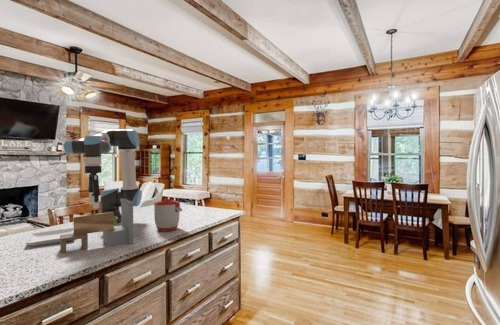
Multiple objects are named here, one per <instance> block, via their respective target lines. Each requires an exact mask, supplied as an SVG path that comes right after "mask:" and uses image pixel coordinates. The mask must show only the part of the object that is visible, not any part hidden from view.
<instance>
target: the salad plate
mask: <svg viewBox="0 0 500 325" xmlns="http://www.w3.org/2000/svg"><path fill="white" fill-rule="evenodd" d="M70 233H74V227H73V228H72V227H71V228H64V229H63V228H62V229H56V230H48V231H41V232H33V233H31V234H29V237H28V239H27V240H26V241H25V244H26V245H28V246H32V247H36V246H38V247H39V246H44V245H52V244H58V243H60V235H64V234H70Z"/></svg>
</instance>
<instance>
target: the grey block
mask: <svg viewBox="0 0 500 325" xmlns="http://www.w3.org/2000/svg"><path fill="white" fill-rule="evenodd" d="M120 202H121V208H120V210H121V211H120V213H121V222H120V223H121V225H116V226H114V230H111V231H110V230H108V231H102V237H103V238H102V240H103V242H104V243H105V246H106V247H111V246H118V245H122V244H129V245H131V244H134V242H135V240H134V236H135V234H134V233H135V232H134V207H135V206H134V202H131V201H129V200H127V199H125V198H124V199H120Z"/></svg>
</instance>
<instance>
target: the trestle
mask: <svg viewBox="0 0 500 325" xmlns="http://www.w3.org/2000/svg"><path fill="white" fill-rule="evenodd" d="M88 234H89V233H88ZM88 234H81V235H74V233H70V234H64V235H60V253H61V254H63V253H67V242H69V241H74V240H81V244H80V245H81V247H82V249H83V250H88V248H89V244H88V243H89V241H88V240H89V239H88Z"/></svg>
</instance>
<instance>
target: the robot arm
mask: <svg viewBox="0 0 500 325" xmlns="http://www.w3.org/2000/svg"><path fill="white" fill-rule="evenodd" d="M139 146H140V137H139V134H138V132H137V131H136V130H135V129H130V128H128V129H127V128H126V129H123V128H122V129H120V128H119V129H118V128H117V129H115V128H114V129H113V128H111V129H106V130H103V131H99V132H98V133H96V134H95V135H91V134H89V135H88V134H87V135H85V136H84V137H82V138H79V139H71V140H70V139H68V140H65V142H64V143H63V150H64V152H65V153H66V154H68V155H69V154H70V155H81V154H82V155H83V154H84V159H82V160H83V162H84V165H85V166H84V173H85V174H88V187H87V188H88V189H87V190H88V205H89V206H90V205H91V206H92V209H93V210H95V209H100V213H107V212H113V213H114V217H118V219H117V221H116V224H118V223H121V211H120V210H121V209H120V207H121V202H120V199H124V198H125V199H127V200H129V201H131V202H134V206H133V207H138V206H139V205H140V204H141V202H142V197H143V191H142V190H141V189H139V188H140V187H139V186H138V185H137V175H136V174H137V173H136V159H135V158H136V155H135V151H136V150H137V149H138V147H139ZM112 147H117V149H118V151H120V158H121V172H122V173H121V176H122V186H121V187H120V188H119V187H114V188H108V189H103V190H100V182H99V181H100V180H99V175H97V174H101V173H102V166H101V165H102V155H105V154H109V153H110V152H111V150H112Z"/></svg>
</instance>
